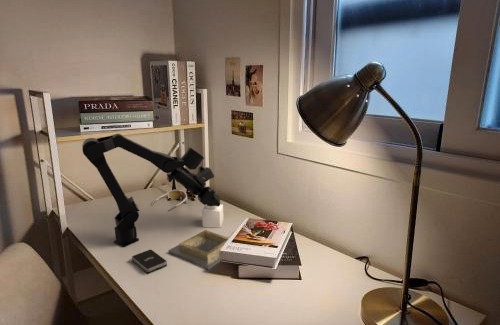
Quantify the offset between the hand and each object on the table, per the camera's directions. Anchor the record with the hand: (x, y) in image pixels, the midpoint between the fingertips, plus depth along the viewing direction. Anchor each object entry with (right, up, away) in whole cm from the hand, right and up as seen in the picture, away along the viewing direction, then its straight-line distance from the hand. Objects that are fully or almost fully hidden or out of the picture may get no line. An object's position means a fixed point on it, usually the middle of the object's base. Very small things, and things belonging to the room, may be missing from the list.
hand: (215, 201), depth 138 cm
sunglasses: (-23, -4, +24) cm, 33 cm away
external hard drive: (-19, -17, -26) cm, 37 cm away
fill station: (-1, -14, -18) cm, 23 cm away
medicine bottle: (-1, -9, +2) cm, 10 cm away
